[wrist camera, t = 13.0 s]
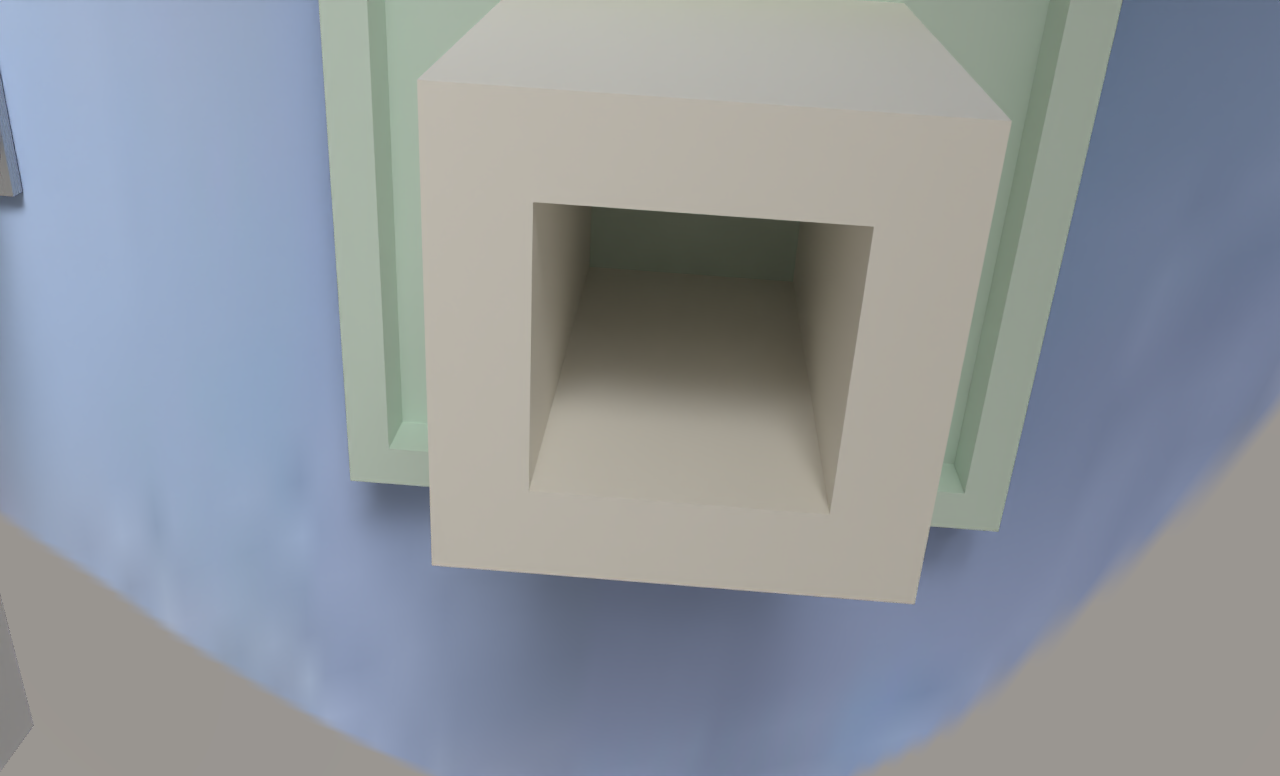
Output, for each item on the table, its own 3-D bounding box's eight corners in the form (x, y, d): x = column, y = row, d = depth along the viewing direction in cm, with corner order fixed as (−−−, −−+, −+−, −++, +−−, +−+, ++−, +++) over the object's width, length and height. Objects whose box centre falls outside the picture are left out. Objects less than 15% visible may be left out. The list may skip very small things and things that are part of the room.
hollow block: (525, -23, 25) (417, 79, 16) (904, 2, 24) (1011, 121, 16) (521, 323, 28) (431, 565, 19) (851, 348, 28) (914, 604, 19)
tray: (333, -250, 24) (301, -254, 22) (1134, -200, 23) (1169, -200, 21) (371, 440, 31) (350, 480, 29) (981, 488, 30) (998, 531, 29)
